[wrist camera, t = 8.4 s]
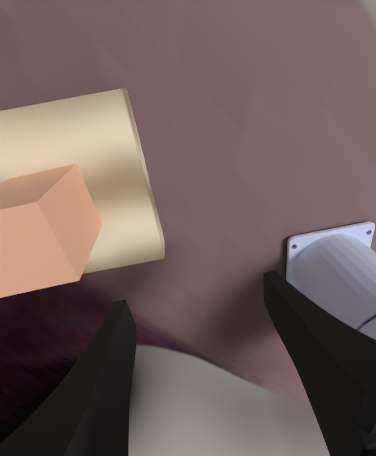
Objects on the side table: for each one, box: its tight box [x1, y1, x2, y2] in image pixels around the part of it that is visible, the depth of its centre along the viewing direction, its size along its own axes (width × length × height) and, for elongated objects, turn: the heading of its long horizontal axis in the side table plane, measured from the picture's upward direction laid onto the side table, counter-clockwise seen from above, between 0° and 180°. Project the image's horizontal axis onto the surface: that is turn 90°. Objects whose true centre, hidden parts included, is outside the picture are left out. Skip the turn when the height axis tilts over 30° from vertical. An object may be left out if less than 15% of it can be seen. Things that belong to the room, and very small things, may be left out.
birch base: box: [0, 88, 165, 274], centre depth 19 cm, size 12×12×3 cm
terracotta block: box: [0, 163, 102, 298], centre depth 15 cm, size 4×4×6 cm
